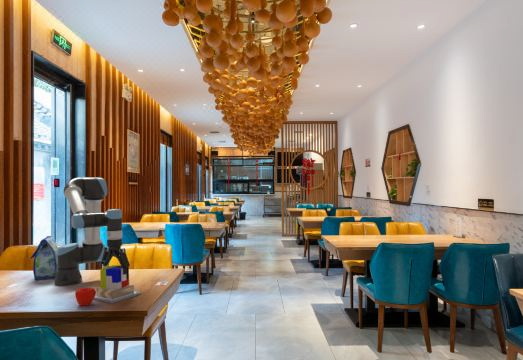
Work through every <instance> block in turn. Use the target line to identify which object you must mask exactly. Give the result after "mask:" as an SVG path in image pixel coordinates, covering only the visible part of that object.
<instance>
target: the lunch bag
mask: <svg viewBox="0 0 523 360" xmlns="http://www.w3.org/2000/svg"><path fill="white" fill-rule="evenodd" d="M58 248H59V247H58V243H57V242H56V239H55V238H54V236H51V235H47V236H45V238H42V239H41V240H40V242H39V244H37V246H36V249H35V250H34V252H33V253H32V255H31V256H30V259H33V265H32V266H33V267H32V270H33V278H34V280H35V281H39V280H42V279H43V280H44V279H48V278H49V279H55V277H56V274H57V271H58V257H57V251H58ZM38 279H39V280H38Z"/></svg>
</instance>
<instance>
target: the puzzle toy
mask: <svg viewBox="0 0 523 360" xmlns="http://www.w3.org/2000/svg"><path fill="white" fill-rule="evenodd" d="M121 268H122V266H121V265H115V264H114V265H109V267H106V268H104V267H103V268H100V270H99V272H100V273H99V275H100V276H99V278H100V281H99V282H100V287H101V289H120V288H122V287H125V286H127V285H129V284H130V266H129V267H127V274H126V280H125V281H121Z"/></svg>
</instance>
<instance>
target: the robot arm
mask: <svg viewBox="0 0 523 360" xmlns="http://www.w3.org/2000/svg"><path fill="white" fill-rule="evenodd" d="M107 185H108V184H107V181H106V180H105V179H104V178H102V177H75V178H72V179H71V180H68V181H67V183H65V185H64V188H63V195H64V197H65V199H66V200H67V201H68V204H69V207H70V209H71V212H72V215H71V217H70V218H71V219H70V220H71V221H70V223H71V227H72V228H73V229H84V230H85V232H84V233H85V234H84V240H82V242H81V243H82V244H79V243H78V242H73V243H67V244H63V245H61V246H59V247H58V251H57V257H58V271H57V274H56V277H55V278H54V282H53V283H54V285H55V286H71V285H75V284H79V283H82V282H83V277H82V274H81V270H80V268H79V267H80V264H83V265H84V264H89V263H90V264H91V263H97V262H100V265H102V266H103V268H106V267H109V266H110V265H109V264H110V263H111V260H112V259H113V257H114V258H116V260H118V262H119V264H120V265H119V266H122V268H121V281H125V280H126V274H127V267H129V268H130V266H131V265H130V263H129V259H128V258H129V257H128V255H127V253H126V252H127V251H126V248H125V247H124V248H122V246H123V213H122V209H120V208H118V209H117V208H110V209H107V210H106V212H102V201H104V200H105V197H106V196H107V195H108V186H107ZM103 227H106V238H107V240H106V244H105V242H103V240H102V239H101V228H103Z"/></svg>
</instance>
